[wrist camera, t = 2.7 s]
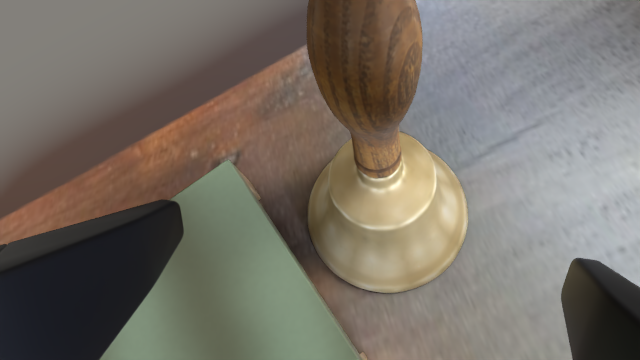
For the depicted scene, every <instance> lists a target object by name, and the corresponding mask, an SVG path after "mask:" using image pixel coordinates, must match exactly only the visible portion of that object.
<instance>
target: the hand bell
mask: <svg viewBox="0 0 640 360" xmlns="http://www.w3.org/2000/svg"><path fill="white" fill-rule="evenodd" d="M422 43H423V42H422V28H421V21H420V15H419V11H418V8H417V5H416V1H415V0H309V3H308V10H307V49H308V54H309V59H310V63H311V66H312V70H313V73H314V76H315V79H316V81H317V84H318V87H319V89H320V92H321V94H322V96H323V98H324V100H325V101H326V103H327V105H328V107H329V108H330V110H331V111H332V113H333V114H334V116H335V117H336V118H337V119H338V120H339V121H340V122H341V123H342V124H343V125H344V126H345V127H346V128H347V129H348V130H349V131H350V133H351V138H352V139H350V140H349V141H348V142H346V143H345V144H344V145H343V146H342V147H341V148H340V150H339V151H338V152H337V154H336V155H335V157H334V159H333V160H332V161H331V162H330V163H329V164H328V165H327V166H326V167H325V168H324V170H323V171H322V172H321V174H320V175H319V177H318V178H317V180H316V182H315V184H314V187H313V189H312V192H311V195H310V199H309V203H308V227H309V232H310V236H311V240H312V243H313V245H314V247H315V249H316V251H317V253H318V254H319V256H320V258H321V259H322V260H323V262H324V263H325V264H326V265H327V266H328V267H329V268H330V269H331V270H332V271H333V272H334V273H335V274H336V275H337V276H339V277H340V278H342V279H343V280H345V281H346V282H348V283H350V284H352V285H354V286H356V287H359V288H362V289H365V290H369V291H374V292H382V293H396V292H402V291H407V290H411V289H415V288H418V287H420V286H422V285H425V284H427V283H429V282H430V281H432V280H433V279H435V278H437V277H438V276H439V275H440V274H441V273H443V272H444V271H445V270H446V269H447V268H448V267H449V266H450V265H451V263H452V262H453V261H454V259H455V258H456V256H457V255H458V253H459V251H460V249H461V247H462V244H463V242H464V239H465V236H466V231H467V225H468V207H467V202H466V197H465V194H464V191H463V189H462V186H461V184H460V182H459V180H458V178H457V177H456V175H455V174H454V173H453V171H452V170H451V169H450V167H449V166H448V165H447V164H446V163H445V162H444V161H443V160H442V159H440V158H439V157H438V156H437V155H435V154H434V153H432V152H431V151H429V150H427V149H426V148H424V146H423V145H422V144H421V143H419V142H418V141H417V140H415V139H414V138H412V137H411V136H409V135H407V134H405V133H402V132H399V123H400V122H401V120H402V119H403V118H404V116H405V114H406V113H407V111H408V109H409V107H410V105H411V103H412V100H413V98H414V95H415V92H416V88H417V84H418V80H419V75H420V70H421V62H422Z"/></svg>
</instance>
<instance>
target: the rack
mask: <svg viewBox="0 0 640 360" xmlns="http://www.w3.org/2000/svg"><path fill="white" fill-rule="evenodd" d="M260 198H261V197H260V196H259V194H258V193H257V191H256V190H255V188H254V186H253V185H252V183H251V182H250V181H249V180H248V179H247V178H246V177H245V176H244V175H243V174H242V173H241V172H240V171H239V170H238V169H237V168H236V167H235V165H234V164H233V163H232V162H231V161H230V160H226V161H225V162H223V163H222V164H220V165H219V166H217V167H216V168H215V169H213V170H212V171H210V172H209V173H207V174H206V175H204V176H203V177H202V178H200V179H199V180H197V181H196V182H194V183H193V184H191V185H190V186H188V187H187V188H186V189H184V190H183V191H181V192H180V193H178V194H177V195H175V196H174V197H173V198H171V199H170V200H171V201H176V202H177V203H178V204H179V205H180V209H181V215H182V221H183V227H184V234H183V238H182V240H181V242H180V243H179V245H178V247H177V248H176V250H175V252H174V253H173V255H172V257H171V258H170V260H169V262H168V263H167V265H166V267H165V268H164V270H163V272H162V274H161V275H160V277H159V279H158V280H157V282H156V283H155V285H154V286H153V288H152V289H151V291H150V292H149V294H148V295H147V296H146V298H145V299H144V300H143V302H142V303H141V304H140V306H139V307H138V308H137V310H136V311H135V313H134V314H133V315H132V317H131V318H130V319H129V321H128V322H127V323H126V325H125V326H124V327H123V329H122V330H121V331H120V333H119V334H118V335H117V337H116V338H115V339H114V341H113V342H112V344H111V345H110V346H109V348H108V349H107V350H106V352H105V353H104V354H103V356H102V357H101V358H100V360H368V358H367V357H366V355H365V354H364V353H363V352H362V353H360V354H359V353H358V352H357V350H356V349H355V347H354V345H353V344H352V342H351V341H350V339H349V338H348V336H347V335H346V333H345V332H344V330H343V329H342V327H341V326H340V324H339V323H338V321H337V320H336V318H335V317H334V315H333V313H332V312H331V310H330V309H329V307H328V306H327V304H326V303H325V301H324V300H323V298H322V297H321V295H320V294H319V292H318V291H317V289H316V288H315V286H314V285H313V283H312V282H311V280H310V278H309V277H308V275H307V274H306V272H305V271H304V269H303V268H302V266H301V265H300V263H299V262H298V260H297V259H296V257H295V256H294V254H293V253H292V251H291V250H290V248H289V247H288V245H287V243H286V242H285V240H284V239H283V237H282V236H281V234H280V233H279V231H278V230H277V228H276V227H275V225H274V224H273V222H272V221H271V219H270V218H269V216H268V215H267V213H266V212H265V210H264V208H263V207H262V205H261V204H260V202H259V201H258V200H259V199H260Z"/></svg>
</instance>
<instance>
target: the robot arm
mask: <svg viewBox="0 0 640 360" xmlns="http://www.w3.org/2000/svg"><path fill="white" fill-rule="evenodd" d="M183 234H184V227H183V221H182V215H181V209H180V205H179V204H178V203H177V202H176V201H171V200H158V201H155V202H151V203H148V204H144V205H141V206H137V207H133V208H130V209H126V210H123V211H119V212H116V213H112V214H109V215H105V216H102V217H98V218H95V219H91V220H88V221H84V222H81V223H77V224H74V225H70V226H67V227H63V228H60V229H56V230H53V231H49V232H46V233H42V234H39V235H35V236H32V237H28V238H25V239H21V240H18V241H14V242H11V243H9V244H8V245H6V244H3V245H0V360H100V358H101V357H102V356H103V354H104V353H105V352H106V350H107V349H108V348H109V346H110V345H111V344H112V342H113V341H114V339H115V338H116V337H117V335H118V334H119V333H120V331H121V330H122V329H123V327H124V326H125V325H126V323H127V322H128V321H129V319H130V318H131V317H132V315H133V314H134V313H135V311H136V310H137V308H138V307H139V306H140V304H141V303H142V302H143V300H144V299H145V298H146V296H147V295H148V294H149V292H150V291H151V289H152V288H153V286H154V285H155V283H156V282H157V280H158V279H159V277H160V275H161V274H162V272H163V270H164V268H165V267H166V265H167V263H168V262H169V260H170V258H171V257H172V255H173V253H174V252H175V250H176V248H177V247H178V245H179V243H180V242H181V240H182V238H183ZM561 301H562V307H563V312H564V317H565V322H566V327H567V332H568V337H569V343H570V348H571V353H572V358H573V360H640V287H638V286H637V285H635V284H634V283H632V282H630V281H629V280H627V279H626V278H624V277H623V276H621V275H620V274H618V273H616V272H615V271H613V270H612V269H610V268H609V267H607V266H606V265H604V264H602V263H601V262H599V261H596V260H590V259H583V258H576V259H574V260H573V261H572V262H571V265H570V267H569V270H568V273H567V276H566V279H565V282H564V285H563V288H562V293H561Z"/></svg>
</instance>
